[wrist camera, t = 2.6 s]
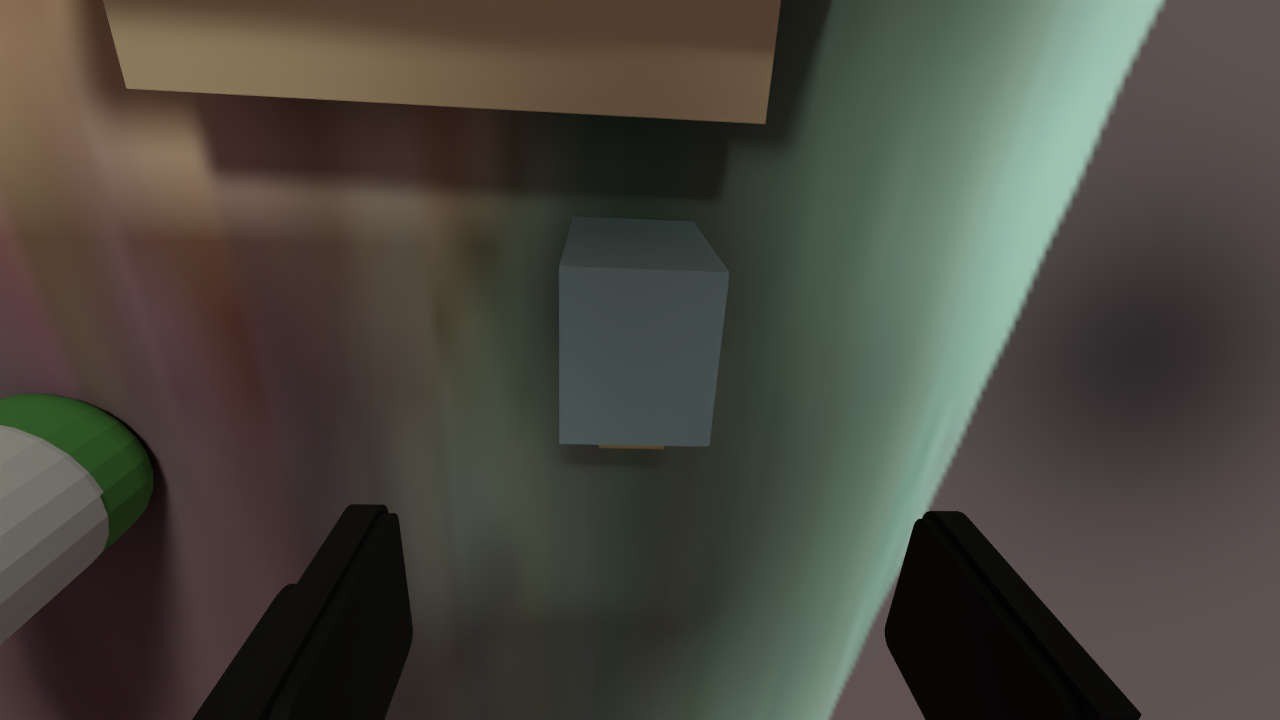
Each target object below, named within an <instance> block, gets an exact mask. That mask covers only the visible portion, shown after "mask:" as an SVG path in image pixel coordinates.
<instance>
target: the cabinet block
mask: <svg viewBox="0 0 1280 720" xmlns="http://www.w3.org/2000/svg"><path fill="white" fill-rule="evenodd" d="M729 274H730V272H729V271H728V269H727V268H726V267H725V265H724V264H723V262H722V261H721V260H720V258H719V257H718V255H717V254H716V252H715V251H714V250H713V248H712V247H711V245H710V244H709V243H708V241H707V240H706V238H705V237H704V235H703V234H702V233H701V231H700V230H699V228H698V227H697V226H696V224H695V223H694V221H673V220H650V219H628V218H605V217H583V216H573V219H572V222H571V226H570V229H569V233H568V236H567V240H566V243H565V247H564V250H563V254H562V257H561V260H560V264H559V444H587V445H599V448H621V449H664V446H697V447H709V446H710V437H711V429H712V420H713V411H714V403H715V394H716V386H717V377H718V368H719V360H720V351H721V342H722V334H723V325H724V317H725V308H726V299H727V291H728V282H729Z"/></svg>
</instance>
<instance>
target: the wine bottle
mask: <svg viewBox="0 0 1280 720" xmlns="http://www.w3.org/2000/svg"><path fill="white" fill-rule="evenodd" d="M153 489H154V483H153V468H152V466H151V463H150V460H149V457H148V454H147V452H146V451H145V449H144V448H143V446H142V445H141V443H140V442H139V441H138V439H137V438H136V436H135V435H134V434H133V433H132V432H130V431H129V430H128V429H127V428H126V427H125V426H124V425H123V424H122V423H121V422H120V421H118V420H117V419H115V418H114V417H112V416H110V415H109V414H107V413H106V412H104V411H103V410H101V409H99V408H97V407H94V406H92V405H89V404H87V403H85V402H82V401H80V400H77V399H72V398H68V397H63V396H58V395H53V394H21V395H16V396H12V397H8V398H4V399H0V645H1V644H2V643H3V642H4V641H5V640H7V639H8V638H9V637H10V636H11V635H12V634H13V633H14V632H16V631H17V630H18V629H19V628H20V627H21V626H22V625H23V624H24V623H26V622H27V621H28V620H29V619H30V618H31V617H32V616H33V615H35V614H36V613H37V612H38V611H39V610H40V609H41V608H42V607H44V606H45V605H46V604H47V603H48V602H49V601H50V600H51V599H52V598H54V597H55V596H56V595H57V594H58V593H59V592H60V591H61V590H63V589H64V588H65V587H66V586H67V585H68V584H69V583H70V582H71V581H73V580H74V579H75V578H76V577H77V576H78V575H79V574H80V573H82V572H83V571H84V570H85V569H86V568H87V567H88V566H89V565H91V564H92V563H93V561H94V560H95V559H96V558H97V557H98V556H99V555H101V554H102V553H103V552H104V551H105V550H106V549H107V548H108V547H110V546H111V545H112V544H113V543H114V542H115V541H116V540H117V539H119V538H120V537H121V536H122V535H123V534H124V533H125V532H126V531H127V530H128V529H129V528H130V527H131V526H132V525H133V524H134V523H135V522H136V521H137V519H138V518H139V517H140V516H141V515H142V514H143V513H144V511H145V510H146V508H147V506H148V503H149V500H150V498H151V495H152V492H153Z"/></svg>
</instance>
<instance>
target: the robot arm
mask: <svg viewBox="0 0 1280 720" xmlns="http://www.w3.org/2000/svg"><path fill="white" fill-rule="evenodd" d="M412 635H413V626H412V618H411V611H410V603H409V595H408V587H407V580H406V572H405V564H404V556H403V549H402V541H401V533H400V525H399V519H398V516H397V514H395V513H388V509H387V507H386V506H385V505H363V504H352V505H349V506H348V507H347V508H346V509H345V511H344V512H343V514H342V515H341V517H340V518H339V520H338V522H337V523H336V525H335V526H334V528H333V529H332V531H331V532H330V534H329V535H328V537H327V538H326V540H325V541H324V543H323V544H322V546H321V548H320V549H319V551H318V552H317V554H316V555H315V557H314V558H313V560H312V561H311V563H310V564H309V566H308V567H307V569H306V570H305V572H304V573H303V575H302V577H301V578H300V580H299V581H298V583H297V584H289V585H287V586H285V587H284V588H283V589H282V590H281V591H280V592H279V593H278V595H277V596H276V597H275V599H274V600H273V602H272V603H271V605H270V606H269V608H268V609H267V611H266V612H265V613H264V615H263V616H262V618H261V619H260V621H259V622H258V624H257V625H256V627H255V628H254V630H253V631H252V633H251V634H250V636H249V637H248V638H247V640H246V641H245V643H244V644H243V646H242V647H241V649H240V650H239V652H238V653H237V655H236V656H235V658H234V659H233V661H232V662H231V663H230V665H229V666H228V668H227V669H226V671H225V672H224V674H223V675H222V677H221V678H220V680H219V681H218V683H217V684H216V686H215V687H214V688H213V690H212V691H211V693H210V694H209V696H208V697H207V699H206V700H205V702H204V703H203V705H202V706H201V708H200V709H199V711H198V712H197V713H196V715H195V716H194V718H193V719H192V720H384V719H385V716H386V713H387V711H388V708H389V705H390V702H391V700H392V697H393V694H394V691H395V689H396V686H397V683H398V681H399V678H400V675H401V672H402V670H403V667H404V664H405V661H406V659H407V656H408V653H409V650H410V647H411V642H412ZM885 638H886V643H887V646H888V648H889V650H890V652H891V654H892V656H893V658H894V660H895V662H896V664H897V666H898V668H899V669H900V671H901V673H902V675H903V677H904V679H905V681H906V683H907V685H908V687H909V689H910V691H911V692H912V694H913V696H914V698H915V700H916V702H917V704H918V706H919V708H920V710H921V712H922V714H923V715H924V717H925V719H926V720H1139V718H1140V716H1141V713H1140V712H1139V711H1138V710H1137V709H1136V707H1134V705H1133V704H1132V703H1131V702H1130V701H1129V700H1128V699H1127V697H1126V696H1125V695H1124V694H1123V693H1122V692H1121V690H1120V689H1119V688H1118V687H1117V686H1116V685H1115V684H1114V682H1113V681H1112V680H1111V679H1110V678H1109V677H1108V676H1107V675H1106V674H1105V672H1104V671H1103V670H1102V669H1101V668H1100V667H1099V666H1098V664H1097V663H1096V662H1095V661H1094V660H1093V659H1092V658H1091V657H1090V656H1089V654H1088V653H1087V652H1086V651H1085V650H1084V648H1083V647H1082V646H1081V645H1080V644H1079V643H1078V642H1077V641H1076V639H1075V638H1074V637H1073V636H1072V635H1071V634H1070V633H1069V632H1068V630H1067V629H1066V628H1065V627H1064V626H1063V625H1062V624H1061V622H1060V621H1059V620H1058V619H1057V618H1056V617H1055V616H1054V615H1053V613H1052V612H1051V611H1050V610H1049V609H1048V608H1047V607H1046V606H1045V604H1044V603H1043V602H1042V601H1041V600H1040V599H1039V598H1038V596H1037V595H1036V594H1035V593H1034V592H1033V591H1032V590H1031V588H1030V587H1029V586H1028V585H1027V584H1026V583H1025V582H1024V581H1023V579H1022V578H1021V577H1020V576H1019V575H1018V574H1017V573H1016V572H1015V571H1014V569H1013V568H1012V567H1011V566H1010V565H1009V564H1008V563H1007V561H1006V560H1005V559H1004V558H1003V557H1002V556H1001V555H1000V553H999V552H998V551H997V550H996V549H995V548H994V547H993V545H992V544H991V543H990V542H989V541H988V540H987V539H986V538H985V536H984V535H983V534H982V533H981V532H980V531H979V530H978V528H977V527H976V526H975V525H974V524H973V523H972V522H971V521H970V519H969V518H968V517H967V516H966V515H965V514H963V513H962V512H959V511H929V512H926V513H925V514H924V516H923V518H922V519H918V520H917V521H916V522H915V524H914V526H913V530H912V533H911V537H910V540H909V544H908V548H907V551H906V555H905V558H904V562H903V565H902V569H901V572H900V576H899V579H898V583H897V586H896V590H895V593H894V597H893V600H892V604H891V608H890V611H889V615H888V618H887V622H886V626H885Z"/></svg>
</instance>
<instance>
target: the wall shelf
mask: <svg viewBox="0 0 1280 720" xmlns="http://www.w3.org/2000/svg"><path fill="white" fill-rule="evenodd" d="M103 3H104V7H105V10H106V14H107V18H108V22H109V25H110V29H111V33H112V36H113V40H114V44H115V48H116V51H117V55H118V59H119V63H120V66H121V70H122V74H123V78H124V81H125V85H126V89H143V90H161V91H179V92H197V93H215V94H233V95H251V96H269V97H287V98H305V99H323V100H341V101H359V102H377V103H395V104H413V105H431V106H449V107H467V108H484V109H502V110H520V111H538V112H556V113H574V114H592V115H610V116H628V117H646V118H664V119H682V120H700V121H718V122H736V123H754V124H765V123H766V115H767V107H768V99H769V91H770V83H771V75H772V68H773V60H774V52H775V44H776V36H777V28H778V21H779V13H780V5H781V0H103Z"/></svg>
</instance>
